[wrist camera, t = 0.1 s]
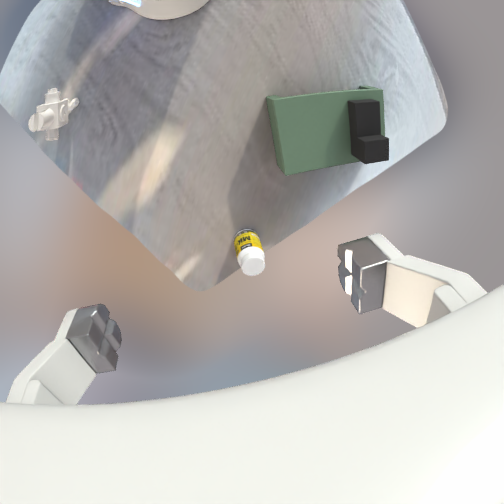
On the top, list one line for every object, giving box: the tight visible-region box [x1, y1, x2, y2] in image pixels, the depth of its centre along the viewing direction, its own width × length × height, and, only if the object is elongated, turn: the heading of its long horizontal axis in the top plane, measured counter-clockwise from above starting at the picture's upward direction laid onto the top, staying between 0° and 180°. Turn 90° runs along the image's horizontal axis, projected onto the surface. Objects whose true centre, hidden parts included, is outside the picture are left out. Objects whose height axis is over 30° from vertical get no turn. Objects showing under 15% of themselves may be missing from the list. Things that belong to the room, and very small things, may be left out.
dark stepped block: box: [347, 99, 389, 164], centre depth 39 cm, size 9×4×5 cm, turn 10°
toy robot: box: [29, 88, 79, 140], centre depth 30 cm, size 4×8×12 cm, turn 172°
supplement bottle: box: [234, 229, 265, 276], centre depth 52 cm, size 5×5×8 cm
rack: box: [266, 86, 385, 176], centre depth 42 cm, size 12×18×5 cm, turn 100°
